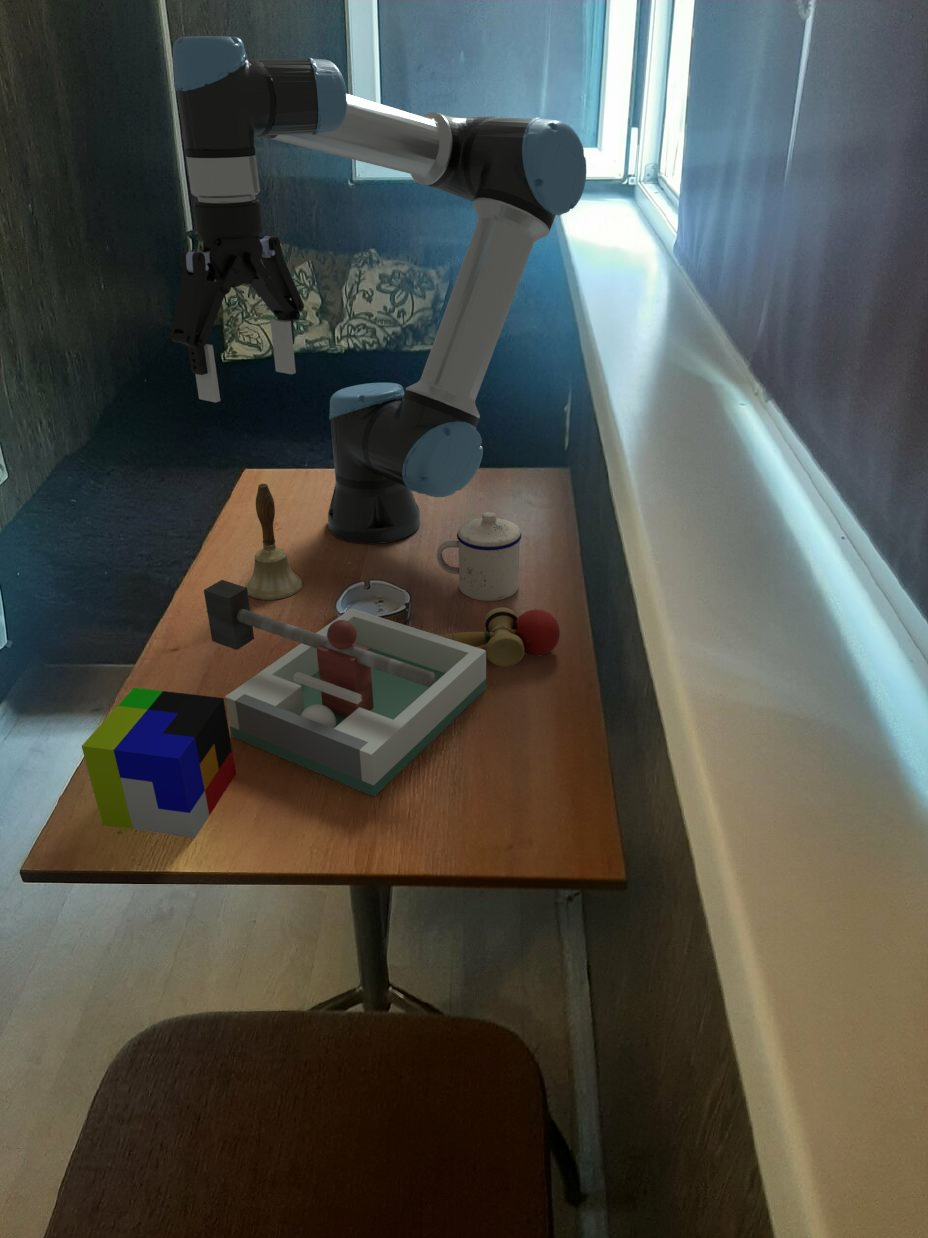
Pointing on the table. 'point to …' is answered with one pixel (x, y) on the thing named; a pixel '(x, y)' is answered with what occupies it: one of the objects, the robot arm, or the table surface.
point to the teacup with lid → (486, 558)
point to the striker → (334, 652)
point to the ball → (320, 715)
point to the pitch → (364, 740)
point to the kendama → (513, 635)
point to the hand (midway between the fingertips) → (249, 385)
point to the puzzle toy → (161, 761)
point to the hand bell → (270, 557)
